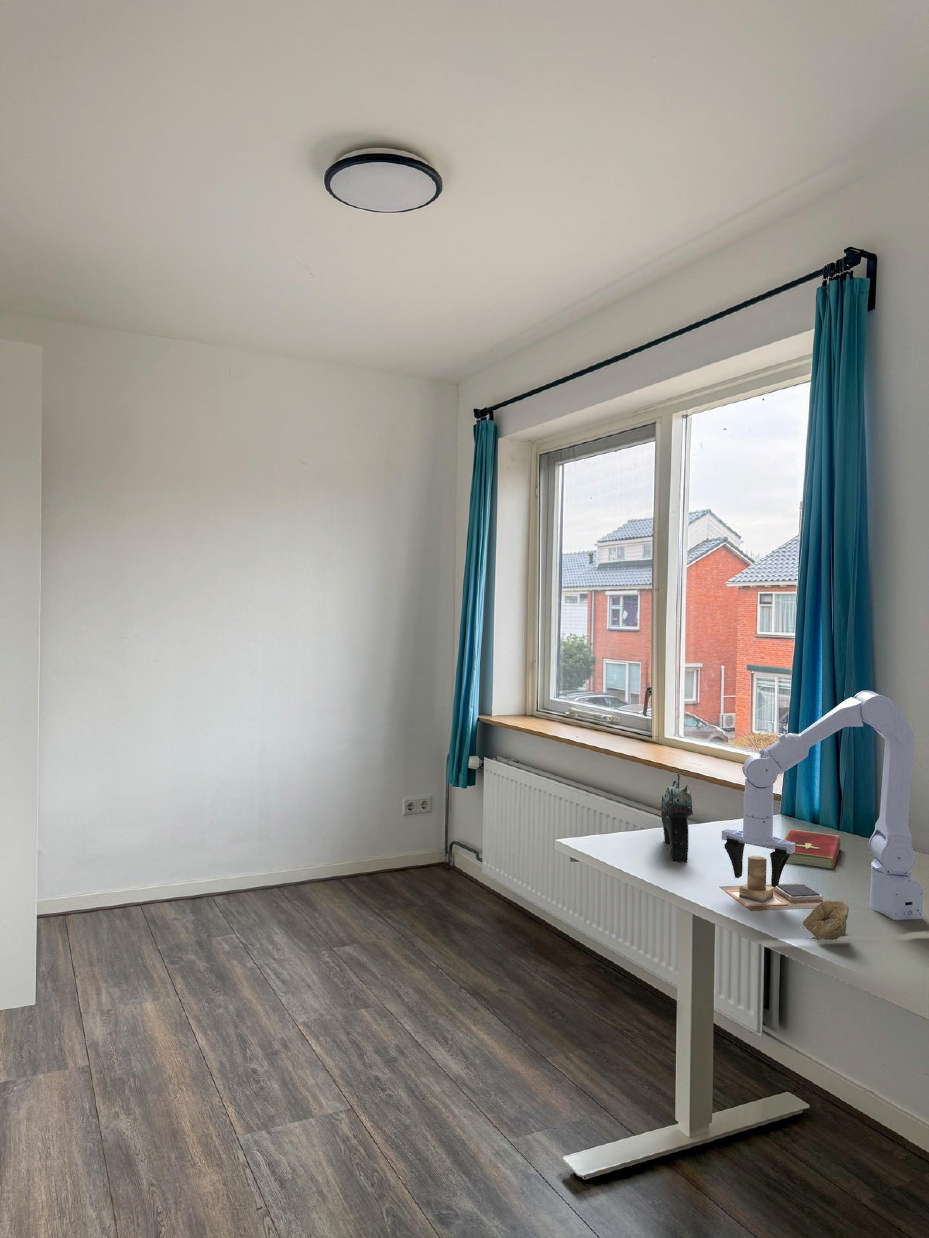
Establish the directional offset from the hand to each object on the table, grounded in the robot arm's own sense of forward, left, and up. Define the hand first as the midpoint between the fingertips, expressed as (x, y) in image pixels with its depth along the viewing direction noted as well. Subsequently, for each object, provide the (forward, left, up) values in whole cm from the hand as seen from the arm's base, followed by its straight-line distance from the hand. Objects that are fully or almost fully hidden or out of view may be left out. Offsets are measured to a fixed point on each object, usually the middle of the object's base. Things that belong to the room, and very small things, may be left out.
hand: (756, 881), depth 175 cm
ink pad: (0, -10, -3) cm, 10 cm away
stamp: (0, 0, -3) cm, 3 cm away
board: (0, -4, -4) cm, 6 cm away
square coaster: (0, 0, -3) cm, 3 cm away
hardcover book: (+28, -28, -5) cm, 40 cm away
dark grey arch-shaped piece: (+36, +3, -5) cm, 36 cm away
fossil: (-18, -4, -5) cm, 19 cm away
